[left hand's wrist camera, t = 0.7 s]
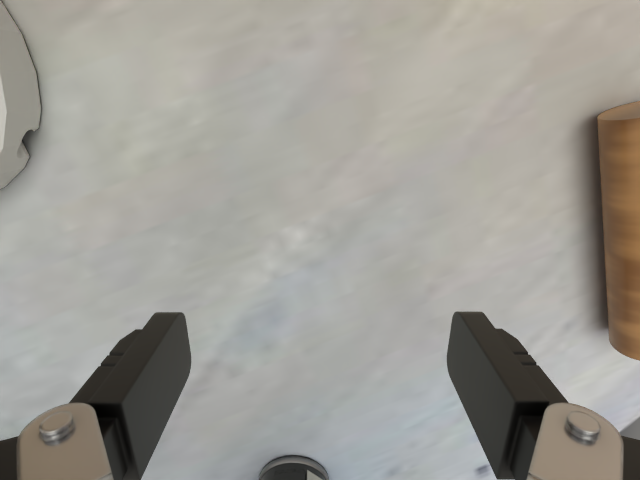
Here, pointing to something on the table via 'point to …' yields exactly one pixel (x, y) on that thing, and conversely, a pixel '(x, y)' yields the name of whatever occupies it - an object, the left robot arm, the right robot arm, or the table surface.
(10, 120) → the ashtray
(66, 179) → the table surface
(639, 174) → the rod
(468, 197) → the table surface
